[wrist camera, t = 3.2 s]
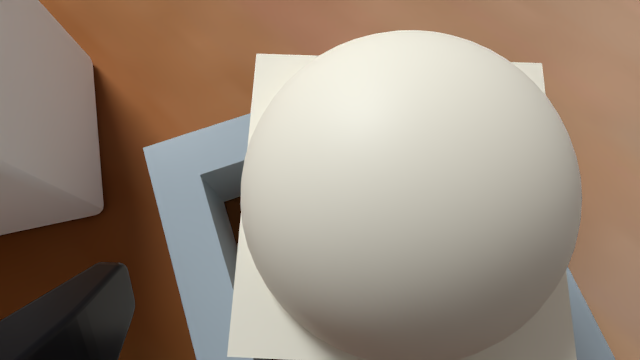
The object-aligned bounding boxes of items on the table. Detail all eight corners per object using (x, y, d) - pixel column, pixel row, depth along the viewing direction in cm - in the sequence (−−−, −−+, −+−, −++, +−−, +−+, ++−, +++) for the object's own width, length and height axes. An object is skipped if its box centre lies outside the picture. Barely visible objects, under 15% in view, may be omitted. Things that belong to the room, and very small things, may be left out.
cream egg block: (424, 338, 16) (736, 408, 4) (284, 332, 16) (168, 381, 4) (421, 202, 17) (639, -50, 5) (293, 197, 17) (227, -62, 5)
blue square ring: (259, 481, 15) (240, 531, 11) (177, 179, 18) (142, 148, 14) (557, 361, 16) (622, 373, 12) (431, 95, 19) (455, 47, 15)
